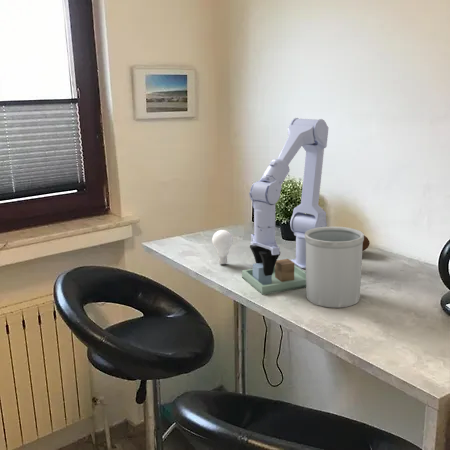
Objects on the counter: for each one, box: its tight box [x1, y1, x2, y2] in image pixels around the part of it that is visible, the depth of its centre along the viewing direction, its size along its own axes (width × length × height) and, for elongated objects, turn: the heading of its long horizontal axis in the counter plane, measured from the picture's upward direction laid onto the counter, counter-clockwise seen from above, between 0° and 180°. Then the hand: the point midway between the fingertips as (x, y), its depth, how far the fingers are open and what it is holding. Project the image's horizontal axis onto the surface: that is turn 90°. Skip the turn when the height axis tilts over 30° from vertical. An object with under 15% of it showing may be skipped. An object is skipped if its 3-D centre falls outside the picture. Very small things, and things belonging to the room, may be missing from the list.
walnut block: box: [275, 258, 295, 282], centre depth 159 cm, size 4×4×5 cm
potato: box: [362, 234, 371, 252], centre depth 180 cm, size 7×10×8 cm
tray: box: [241, 264, 306, 295], centre depth 159 cm, size 16×14×2 cm
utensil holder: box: [305, 226, 365, 309], centre depth 145 cm, size 15×15×18 cm
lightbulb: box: [211, 229, 234, 266], centre depth 173 cm, size 6×6×11 cm
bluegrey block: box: [252, 262, 272, 285], centre depth 157 cm, size 4×4×5 cm
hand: (264, 272), depth 157 cm, fingers open, 4 cm apart
